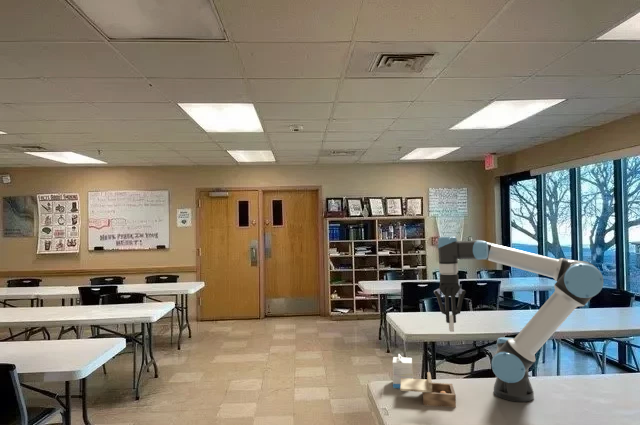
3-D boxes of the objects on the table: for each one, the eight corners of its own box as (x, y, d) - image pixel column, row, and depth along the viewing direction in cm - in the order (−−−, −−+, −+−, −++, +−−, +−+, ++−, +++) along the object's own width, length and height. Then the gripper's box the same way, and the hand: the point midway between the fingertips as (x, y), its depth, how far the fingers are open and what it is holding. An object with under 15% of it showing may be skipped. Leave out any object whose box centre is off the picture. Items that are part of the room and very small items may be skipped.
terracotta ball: (446, 397, 171) (446, 390, 171) (447, 400, 168) (447, 392, 168) (439, 397, 172) (439, 389, 172) (439, 400, 169) (439, 392, 169)
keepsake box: (452, 397, 174) (452, 383, 174) (455, 409, 162) (455, 395, 162) (422, 395, 176) (422, 381, 176) (423, 407, 164) (423, 392, 164)
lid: (430, 381, 176) (430, 372, 176) (432, 392, 164) (431, 382, 164) (400, 379, 178) (400, 370, 178) (400, 390, 166) (400, 380, 166)
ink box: (412, 391, 180) (412, 359, 181) (392, 389, 182) (392, 358, 183) (412, 383, 189) (411, 353, 189) (393, 382, 191) (392, 352, 191)
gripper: (462, 272, 180) (465, 328, 179) (431, 273, 181) (434, 328, 180) (466, 274, 172) (469, 332, 171) (434, 274, 174) (436, 333, 173)
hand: (451, 330), depth 176 cm, fingers closed
